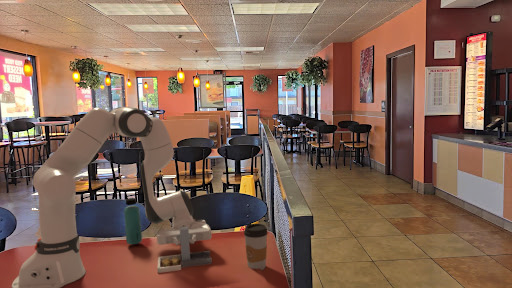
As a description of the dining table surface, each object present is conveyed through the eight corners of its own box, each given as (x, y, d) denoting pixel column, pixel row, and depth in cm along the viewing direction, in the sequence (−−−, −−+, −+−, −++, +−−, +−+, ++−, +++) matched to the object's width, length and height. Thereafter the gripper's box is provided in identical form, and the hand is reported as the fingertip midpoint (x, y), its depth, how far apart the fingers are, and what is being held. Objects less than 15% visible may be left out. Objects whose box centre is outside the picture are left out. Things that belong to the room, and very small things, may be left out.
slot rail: (181, 270, 138) (180, 262, 138) (180, 261, 145) (180, 254, 145) (211, 266, 140) (211, 258, 140) (209, 258, 147) (209, 250, 147)
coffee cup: (240, 268, 138) (238, 227, 136) (256, 260, 144) (254, 221, 142) (257, 275, 133) (256, 233, 131) (273, 266, 139) (272, 226, 137)
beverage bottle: (137, 248, 159) (134, 201, 157) (123, 247, 161) (119, 200, 158) (145, 242, 166) (142, 196, 163) (131, 241, 167) (127, 196, 164)
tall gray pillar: (182, 265, 140) (179, 230, 138) (181, 260, 144) (179, 227, 142) (190, 264, 140) (188, 229, 139) (190, 259, 144) (187, 226, 143)
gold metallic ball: (160, 266, 139) (164, 259, 139) (161, 263, 142) (164, 255, 142) (168, 269, 139) (171, 261, 139) (168, 265, 142) (172, 258, 142)
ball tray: (157, 275, 135) (157, 268, 134) (158, 263, 144) (158, 256, 144) (181, 272, 136) (180, 265, 136) (180, 260, 146) (180, 254, 146)
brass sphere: (169, 264, 139) (174, 256, 140) (169, 261, 142) (174, 254, 143) (177, 268, 140) (181, 260, 140) (176, 265, 143) (181, 258, 143)
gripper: (156, 224, 151) (154, 237, 137) (208, 219, 155) (212, 231, 142) (157, 240, 152) (156, 254, 138) (209, 234, 156) (213, 247, 143)
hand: (185, 242), depth 140 cm, fingers open, 3 cm apart
